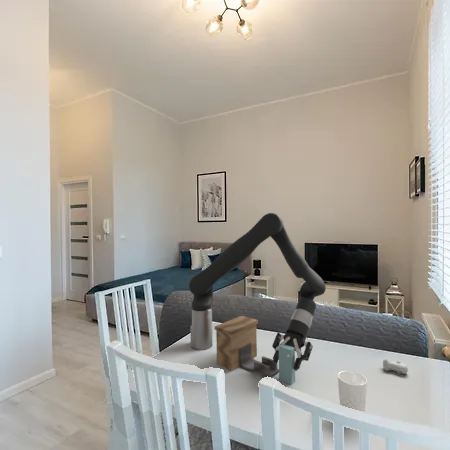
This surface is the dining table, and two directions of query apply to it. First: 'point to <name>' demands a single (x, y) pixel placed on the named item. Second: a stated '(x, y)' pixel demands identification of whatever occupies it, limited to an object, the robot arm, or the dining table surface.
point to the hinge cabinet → (241, 347)
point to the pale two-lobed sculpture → (395, 366)
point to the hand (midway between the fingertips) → (284, 365)
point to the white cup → (352, 390)
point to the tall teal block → (286, 363)
